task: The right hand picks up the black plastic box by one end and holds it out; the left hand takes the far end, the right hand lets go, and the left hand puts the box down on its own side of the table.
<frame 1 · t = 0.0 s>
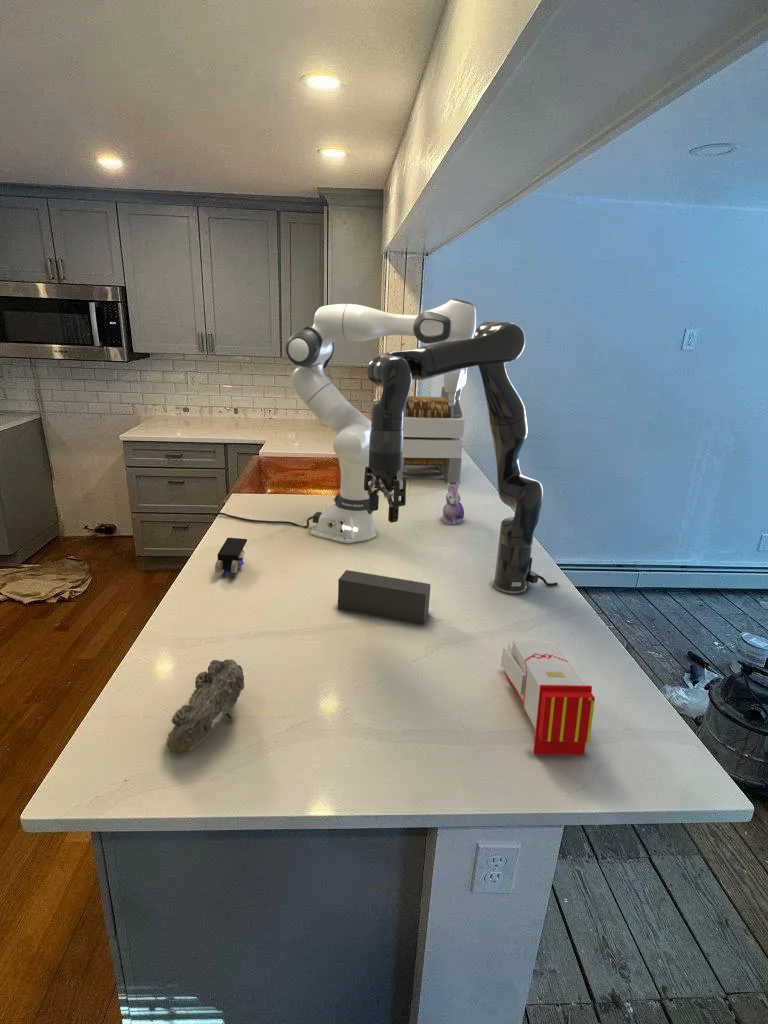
left hand: (454, 403, 174), 48 cm above the counter, tool pointing down, fingers open, 8 cm apart
right hand: (382, 515, 132), 29 cm above the counter, tool pointing down, fingers open, 8 cm apart
box: (383, 611, 149), on the counter
fossil: (212, 717, 108), on the counter
transformer: (419, 473, 275), on the counter
figurine: (452, 521, 214), on the counter
black wheeled block: (232, 569, 168), on the counter
toy: (537, 705, 115), on the counter
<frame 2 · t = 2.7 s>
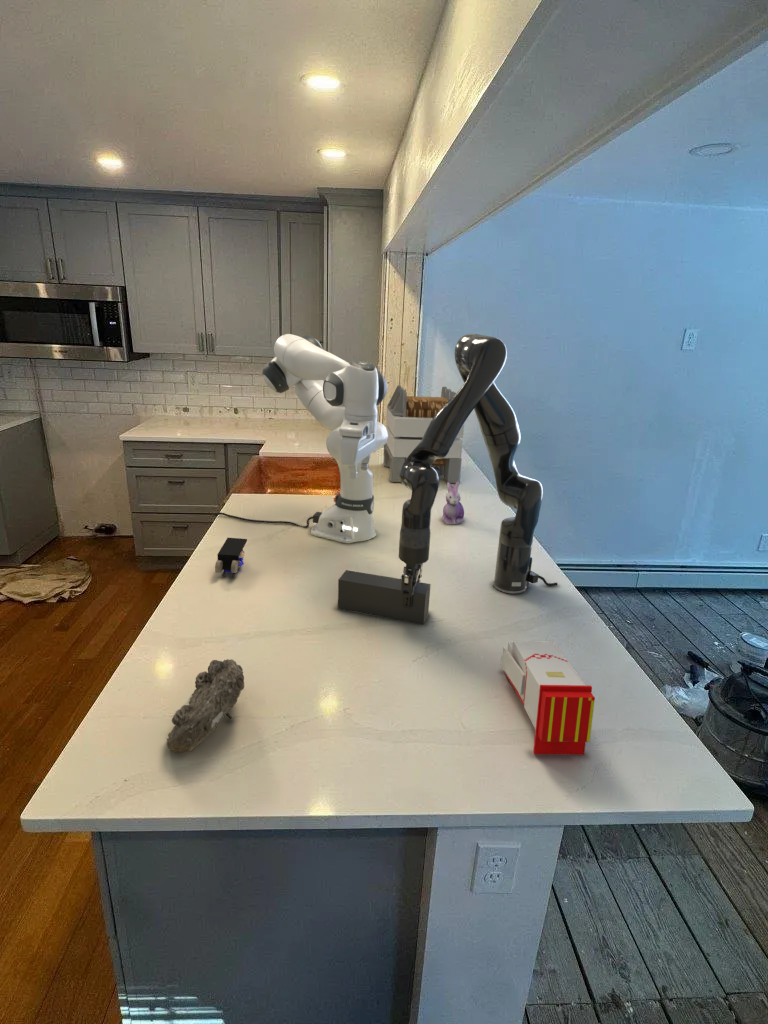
left hand: (359, 474, 156), 31 cm above the counter, tool pointing down, fingers open, 8 cm apart
right hand: (410, 601, 145), 4 cm above the counter, tool pointing down, fingers closed on box, 6 cm apart
box: (383, 611, 149), on the counter, touching right hand
everything else where it was.
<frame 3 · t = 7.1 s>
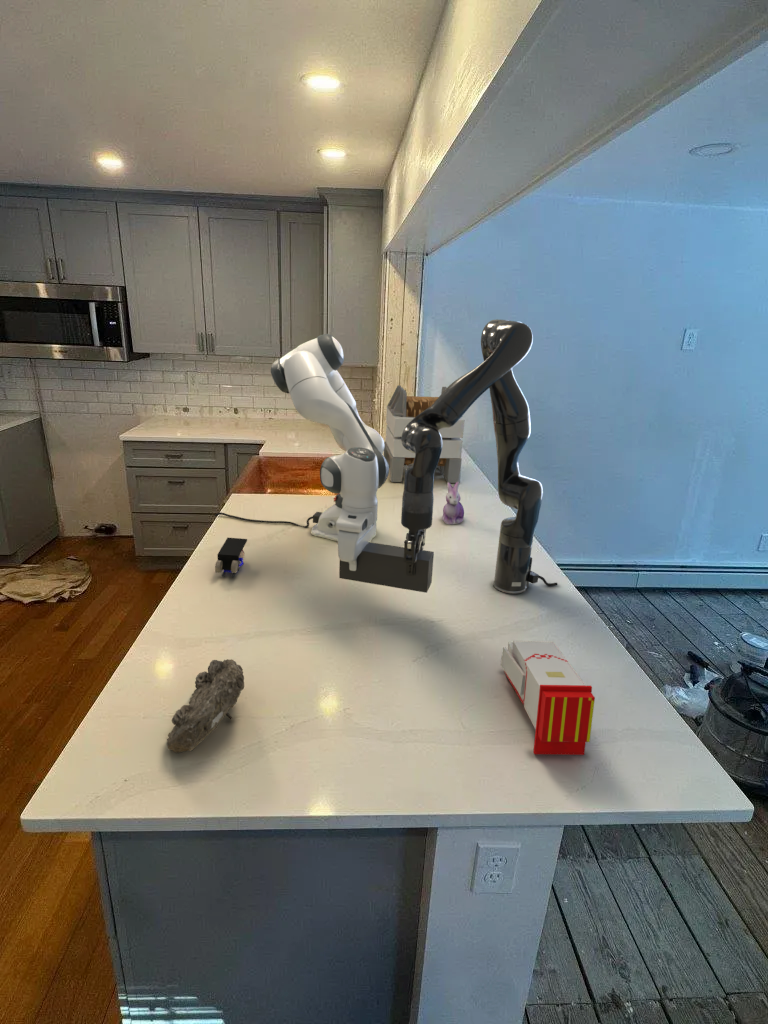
left hand: (358, 563, 146), 12 cm above the counter, tool pointing down, fingers closed on box, 6 cm apart
right hand: (413, 569, 142), 13 cm above the counter, tool pointing down, fingers closed on box, 6 cm apart
box: (385, 580, 146), point 9 cm above the counter, touching left hand, right hand
everything else where it was.
when the left hand's fingers open (5 cm above the counter, at t = 13.3 s): box drops 1 cm, on the counter.
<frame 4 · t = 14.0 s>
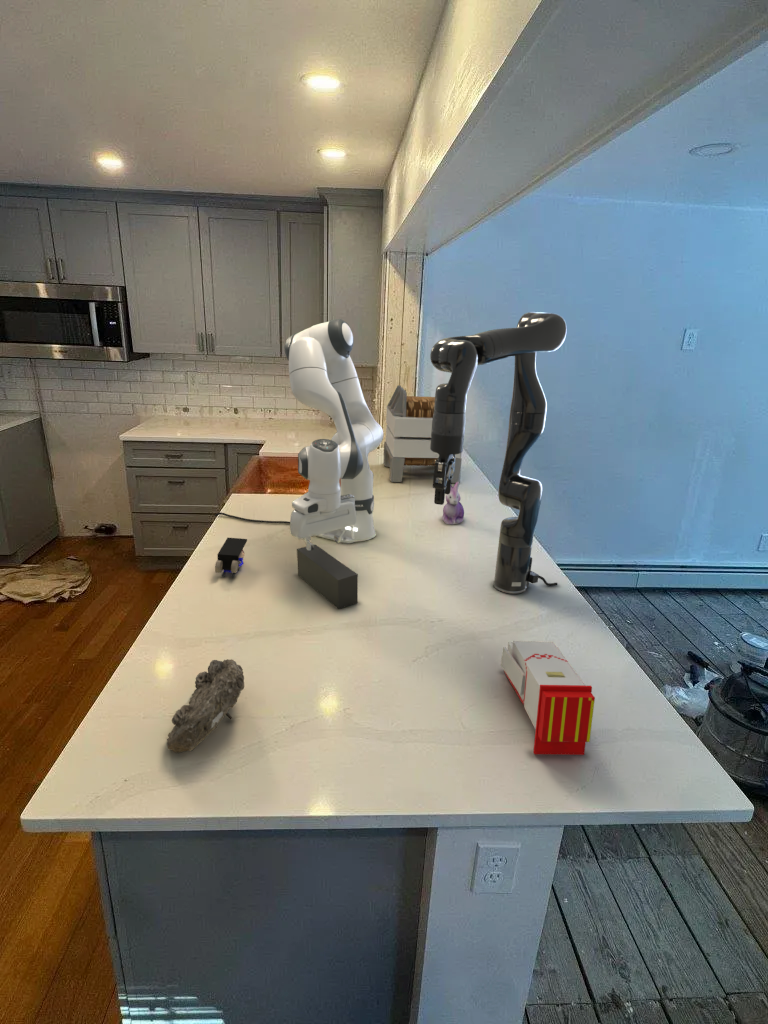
left hand: (324, 545, 160), 11 cm above the counter, tool pointing down, fingers open, 8 cm apart
right hand: (442, 498, 134), 33 cm above the counter, tool pointing down, fingers open, 8 cm apart
box: (326, 588, 159), on the counter
everything else where it was.
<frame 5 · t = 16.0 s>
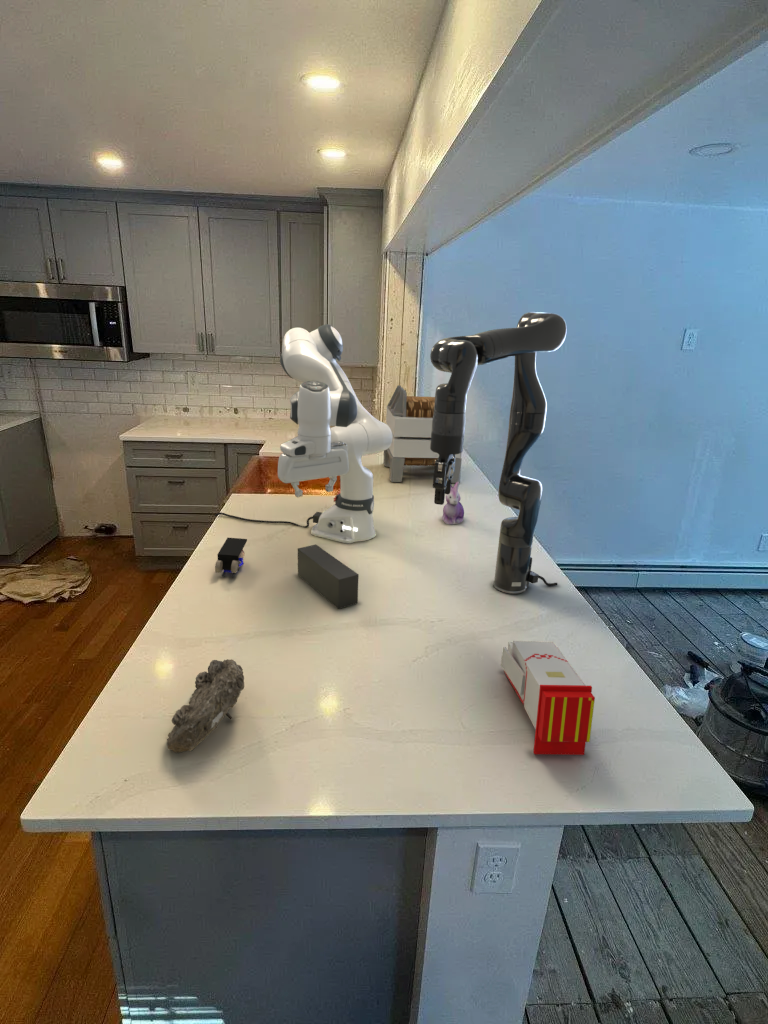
left hand: (314, 493, 155), 26 cm above the counter, tool pointing down, fingers open, 8 cm apart
right hand: (442, 498, 134), 33 cm above the counter, tool pointing down, fingers open, 8 cm apart
nothing on the counter moved.
at the end: box inside the target area (7.0 cm from its centre), on the counter; the left hand is holding nothing; the right hand is holding nothing; box at rest at the end (0.0 cm/s) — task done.
